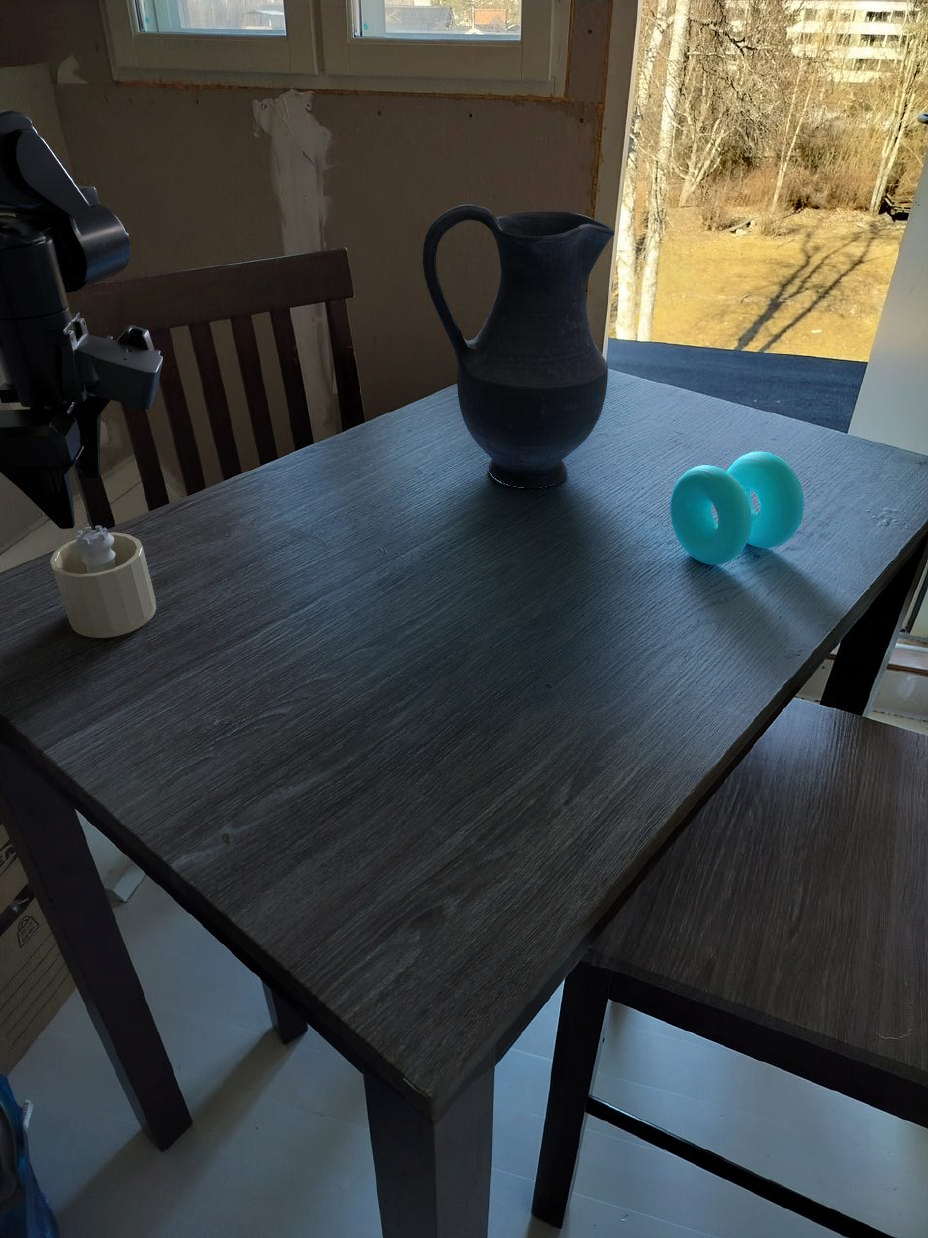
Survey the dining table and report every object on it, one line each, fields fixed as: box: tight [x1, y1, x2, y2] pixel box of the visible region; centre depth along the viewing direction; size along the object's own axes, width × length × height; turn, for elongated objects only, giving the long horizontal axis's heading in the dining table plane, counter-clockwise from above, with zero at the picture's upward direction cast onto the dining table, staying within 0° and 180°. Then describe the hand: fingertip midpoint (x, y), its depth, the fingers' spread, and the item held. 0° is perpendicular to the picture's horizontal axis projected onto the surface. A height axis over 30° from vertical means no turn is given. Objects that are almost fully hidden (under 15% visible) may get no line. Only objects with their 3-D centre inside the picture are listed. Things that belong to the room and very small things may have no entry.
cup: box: [49, 531, 157, 639], centre depth 77 cm, size 8×8×6 cm
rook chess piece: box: [75, 525, 117, 573], centre depth 76 cm, size 4×4×8 cm
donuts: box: [669, 451, 805, 566], centre depth 86 cm, size 10×10×10 cm
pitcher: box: [422, 204, 615, 489], centre depth 95 cm, size 17×21×30 cm
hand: (81, 501), depth 71 cm, fingers open, 9 cm apart
